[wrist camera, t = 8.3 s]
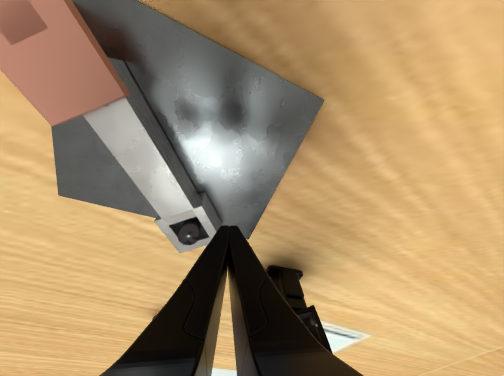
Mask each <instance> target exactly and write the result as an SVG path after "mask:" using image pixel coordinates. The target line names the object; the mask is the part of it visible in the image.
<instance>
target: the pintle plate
mask: <svg viewBox="0 0 504 376" xmlns="http://www.w3.org/2000/svg"><path fill="white" fill-rule="evenodd" d="M72 2H73V3H74V5H75V7H76V8H77V10H78V11H79V13H80V15H81V16H82V18H83V19H84V21H85V22H86V24H87V26H88V27H89V29H90V30H91V32H92V34H93V35H94V37H95V38H96V40H97V42H98V43H99V45H100V46H101V48H102V50H103V51H104V53H105V54H106V56H107V57H109V58H113V59H118V60H122V61H123V62H124V64H125V65H126V67H127V69H128V71H129V72H130V74H131V76H132V78H133V80H134V81H135V83H136V85H137V87H138V88H139V90H140V92H141V94H142V95H143V97H144V99H145V101H146V103H147V104H148V106H149V108H150V110H151V111H152V113H153V115H154V117H155V118H156V120H157V122H158V124H159V126H160V127H161V129H162V131H163V133H164V134H165V136H166V138H167V140H168V141H169V143H170V145H171V147H172V149H173V150H174V152H175V154H176V156H177V157H178V159H179V161H180V163H181V164H182V166H183V168H184V170H185V172H186V173H187V175H188V177H189V179H190V180H191V182H192V184H193V186H194V187H195V189H196V191H197V193H198V194H200V193H203V192H206V194H207V196H208V198H209V200H210V202H211V204H212V205H213V207H214V209H215V211H216V213H217V215H218V217H219V219H220V220H221V222H222V224H223V225H229V226H230V225H237V226H238V227H239V229H240V230H241V232H242V233H243V235H244V237H245V238H246V239H249V238H250V236H251V234H252V232H253V230H254V228H255V227H256V225H257V223H258V221H259V219H260V217H261V216H262V214H263V212H264V210H265V208H266V206H267V205H268V203H269V201H270V199H271V197H272V195H273V194H274V192H275V190H276V188H277V186H278V184H279V183H280V181H281V179H282V177H283V175H284V173H285V172H286V170H287V168H288V166H289V164H290V162H291V161H292V159H293V157H294V155H295V153H296V151H297V150H298V148H299V146H300V144H301V142H302V140H303V138H304V137H305V135H306V133H307V131H308V129H309V127H310V126H311V124H312V122H313V120H314V118H315V116H316V115H317V113H318V111H319V109H320V107H321V105H322V104H323V102H324V99H322V98H320V97H318V96H316V95H314V94H312V93H310V92H308V91H306V90H305V89H303V88H301V87H299V86H297V85H295V84H293V83H291V82H289V81H288V80H286V79H284V78H282V77H280V76H278V75H276V74H274V73H272V72H271V71H269V70H267V69H265V68H263V67H261V66H259V65H257V64H255V63H253V62H252V61H250V60H248V59H246V58H244V57H242V56H240V55H238V54H236V53H235V52H233V51H231V50H229V49H227V48H225V47H223V46H221V45H219V44H218V43H216V42H214V41H212V40H210V39H208V38H206V37H204V36H202V35H201V34H199V33H197V32H195V31H193V30H191V29H189V28H187V27H185V26H183V25H182V24H180V23H178V22H176V21H174V20H172V19H170V18H168V17H166V16H165V15H163V14H161V13H159V12H157V11H155V10H153V9H151V8H149V7H148V6H146V5H144V4H142V3H140V2H138V1H136V0H72ZM51 127H52V137H53V147H54V157H55V166H56V176H57V186H58V195H59V196H63V197H67V198H72V199H76V200H80V201H85V202H89V203H93V204H98V205H102V206H106V207H111V208H115V209H119V210H124V211H128V212H132V213H137V214H141V215H145V216H150V217H154V218H157V216H158V213H157V212H156V211H155V209H154V208H153V207H152V205H151V204H150V203H149V201H148V200H147V199H146V197H145V196H144V195H143V193H142V192H141V191H140V190H139V188H138V187H137V186H136V184H135V183H134V182H133V180H132V179H131V178H130V176H129V175H128V174H127V172H126V171H125V170H124V169H123V167H122V166H121V165H120V163H119V162H118V161H117V159H116V158H115V157H114V155H113V154H112V153H111V152H110V150H109V149H108V148H107V146H106V145H105V144H104V142H103V141H102V140H101V138H100V137H99V136H98V134H97V133H96V132H95V131H94V129H93V128H92V127H91V125H90V124H89V123H88V121H87V120H86V119H85V117H84V116H83V115H82V116H79V117H77V118H75V119H72V120H70V121H68V122H65V123H63V124H59V125H55V126H51ZM200 227H201V222H200V221H199V219H198V218H197V217H193V218H190V219H187V220H184V221H183V224H182V226H181V229H180V232H179V235H178V240H179V242H180V243H182V244H184V245H193V244H195V243H196V242H197V240H198V236H199V231H200Z"/></svg>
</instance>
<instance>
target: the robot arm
mask: <svg viewBox="0 0 504 376" xmlns="http://www.w3.org/2000/svg"><path fill="white" fill-rule="evenodd" d="M227 269H228V278H229V290H230V301H231V312H232V323H233V334H234V345H235V356H236V367H237V376H363V375H362V374H361V373H359V372H358V371H356V370H355V369H353V368H352V367H350V366H349V365H348V364H346V363H345V362H343V361H342V360H340V359H339V358H337V357H336V356H335V355H333V353H332V351H331V348H330V345H329V342H328V339H327V337H326V334H325V332H324V329H323V327H322V324H321V322H320V319H319V317H318V314H317V312H316V309H315V307H314V305H312V306H310V307H307V306H306V303H305V300H304V293H303V291H302V288H301V285H300V282H299V280H300V278H301V277H302V276H303V273H302V272H301V271H297V270H291V269H286V268H281V267H276V266H269V267H268V269H267V270H266V271H265V269H264V267H263V266H262V264H261V262H260V261H259V259H258V258H257V256H256V254H255V253H254V251H253V250H252V248H251V246H250V245H249V243H248V242H247V240H246V238H245V237H244V235H243V233H242V232H241V230H240V229H239V227H238V226H237V225H230V226H229V225H221V226H220V227H219V229H218V230H217V232H216V233H215V235H214V236H213V238H212V239H211V241H210V242H209V244H208V245H207V247H206V248H205V249H204V251H203V252H202V254H201V255H200V257H199V258H198V260H197V261H196V263H195V264H194V266H193V267H192V268H191V270H190V271H189V273H188V274H187V276H186V278H185V279H184V280H183V282H182V283H181V284H180V286H179V287H178V289H177V290H176V291H175V293H174V294H173V296H172V297H171V298H170V300H169V301H168V302H167V303H166V304H165V306H164V307H163V308H162V309H161V311H160V312H159V313H158V314H157V315H156V317H155V318H154V319H153V320H152V321H151V323H150V324H149V325H148V326H147V327H146V328H145V330H144V331H143V332H142V333H141V334H140V336H139V337H138V338H137V339H136V340H135V341H134V343H133V344H132V345H131V346H130V347H129V348H128V350H127V351H126V352H125V353H124V354H123V355H122V356H121V357H120V358H119V359H118V360H117V361H116V362H115V363H114V364H113V365H112V366H111V367H109V368H108V369H107V370H106V371H105V372H103V373H102V374H101V375H99V376H211V373H212V367H213V360H214V354H215V348H216V341H217V335H218V328H219V322H220V316H221V309H222V303H223V296H224V290H225V283H226V277H227ZM315 325H316V326H315Z"/></svg>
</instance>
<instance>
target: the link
mask: <svg viewBox="0 0 504 376" xmlns="http://www.w3.org/2000/svg"><path fill="white" fill-rule="evenodd" d="M107 58H108V59H109V61H110V62H111V64H112V66H113V67H114V69H115V70H116V72H117V73H118V75H119V77H120V78H121V80H122V81H123V83H124V85H125V86H126V88H127V89H128V91H129V93H130V94H131V95H129V96H126V97H124V98H122V99H119V100H117V101H115V102H112V103H110V104H108V105H105V106H103V107H100V108H98V109H96V110H93V111H91V112H89V113H86V114H84V115H83V116H84V117H85V119H86V120H87V121H88V123H89V124H90V125H91V127H92V128H93V129H94V131H95V132H96V133H97V134H98V136H99V137H100V138H101V140H102V141H103V142H104V144H105V145H106V146H107V148H108V149H109V150H110V152H111V153H112V154H113V155H114V157H115V158H116V159H117V161H118V162H119V163H120V165H121V166H122V167H123V169H124V170H125V171H126V172H127V174H128V175H129V176H130V178H131V179H132V180H133V182H134V183H135V184H136V186H137V187H138V188H139V190H140V191H141V192H142V193H143V195H144V196H145V197H146V199H147V200H148V201H149V203H150V204H151V205H152V207H153V208H154V209H155V211H156V212H157V213H158V216H157V218H156V219H155V221H154V222H155V223H156V224H157V225H158V227H159V228H160V229H161V230H162V232H163V233H164V234H165V235H166V237H167V238H168V239H169V240H170V242H171V243H172V244H173V245H174V247H175V248H176V249H177V250H178V252H179V253H182V252H185V251H189V250H192V249H195V248H199V247H202V246H205V245H208V244H209V242H210V241H211V239H212V238H213V236H214V235H215V233H216V232H217V230H218V229H219V227H220V226H221V225H223V224H222V222H221V220H220V219H219V217H218V215H217V213H216V211H215V209H214V207H213V205H212V204H211V202H210V200H209V198H208V196H207V194H206V192H203V193H200V194H198V193H197V191H196V189H195V187H194V186H193V184H192V182H191V180H190V179H189V177H188V175H187V173H186V172H185V170H184V168H183V166H182V164H181V163H180V161H179V159H178V157H177V156H176V154H175V152H174V150H173V149H172V147H171V145H170V143H169V141H168V140H167V138H166V136H165V134H164V133H163V131H162V129H161V127H160V126H159V124H158V122H157V120H156V118H155V117H154V115H153V113H152V111H151V110H150V108H149V106H148V104H147V103H146V101H145V99H144V97H143V95H142V94H141V92H140V90H139V88H138V87H137V85H136V83H135V81H134V80H133V78H132V76H131V74H130V72H129V71H128V69H127V67H126V65H125V64H124V62H123V61H122V60H118V59H113V58H109V57H107ZM193 217H197V218H198V219H199V221H200V222H201V227H200V231H199V236H198V240H197V242H196V243H195V244H193V245H184V244H182V243H180V242H179V240H178V235H179V232H180V229H181V226H182V224H183V221H184V220H187V219H190V218H193Z"/></svg>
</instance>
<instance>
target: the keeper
mask: <svg viewBox="0 0 504 376" xmlns="http://www.w3.org/2000/svg"><path fill="white" fill-rule="evenodd" d="M0 70H1V71H2V72H3V73H4V74H5V75H6V76H7V78H8V79H9V80H10V81H11V82H12V83H13V84H14V85H15V86H16V87H17V89H18V90H19V91H20V92H21V93H22V94H23V95H24V96H25V97H26V98H27V99H28V101H29V102H30V103H31V104H32V105H33V106H34V107H35V108H36V109H37V110H38V112H39V113H40V114H41V115H42V116H43V117H44V118H45V119H46V120H47V121H48V122H49V124H50V125H51V126H55V125H59V124H63V123H65V122H68V121H70V120H72V119H75V118H77V117H79V116H82V115H84V114H86V113H89V112H91V111H93V110H96V109H98V108H100V107H103V106H105V105H108V104H110V103H112V102H115V101H117V100H119V99H122V98H124V97H126V96H129V95H131V94H130V93H129V91H128V89H127V88H126V86H125V85H124V83H123V81H122V80H121V78H120V77H119V75H118V73H117V72H116V70H115V69H114V67H113V66H112V64H111V62H110V61H109V59H108V58H107V56H106V54H105V53H104V51H103V50H102V48H101V46H100V45H99V43H98V42H97V40H96V38H95V37H94V35H93V34H92V32H91V30H90V29H89V27H88V26H87V24H86V22H85V21H84V19H83V18H82V16H81V15H80V13H79V11H78V10H77V8H76V7H75V5H74V3H73V2H72V0H0Z"/></svg>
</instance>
